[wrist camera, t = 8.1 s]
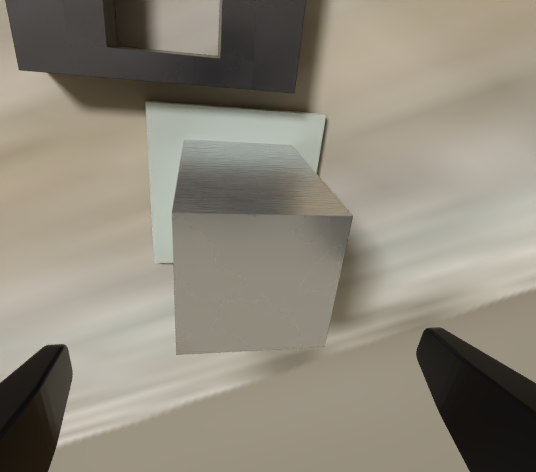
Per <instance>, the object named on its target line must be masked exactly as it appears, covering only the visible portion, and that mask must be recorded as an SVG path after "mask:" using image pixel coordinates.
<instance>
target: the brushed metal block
mask: <svg viewBox="0 0 536 472" xmlns="http://www.w3.org/2000/svg"><path fill="white" fill-rule="evenodd" d="M352 218H353V216H352V214H351V213H350V212H349V211H348V210H347V209H346V207H345V206H344V205H343V204H342V203H341V202H340V200H339V199H338V198H337V197H336V196H335V195H334V193H333V192H332V191H331V190H330V189H329V188H328V186H327V185H326V184H325V183H324V182H323V181H322V179H321V178H320V177H319V176H318V175H317V174H316V172H315V171H314V170H313V169H312V168H311V167H310V165H309V164H308V163H307V162H306V161H305V160H304V158H303V157H302V156H301V155H300V154H299V153H298V151H297V150H296V149H295V148H294V147H293V146H292V145H283V144H264V143H245V142H226V141H207V140H188V139H184V141H183V147H182V153H181V159H180V165H179V172H178V178H177V184H176V190H175V196H174V203H173V209H172V235H173V267H174V298H175V329H176V355H182V354H201V353H220V352H239V351H258V350H277V349H296V348H315V347H325V343H326V338H327V333H328V329H329V324H330V320H331V315H332V310H333V306H334V301H335V296H336V292H337V287H338V283H339V278H340V273H341V269H342V264H343V259H344V255H345V250H346V246H347V241H348V236H349V232H350V227H351V222H352Z"/></svg>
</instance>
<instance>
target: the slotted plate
mask: <svg viewBox="0 0 536 472" xmlns="http://www.w3.org/2000/svg"><path fill="white" fill-rule="evenodd" d="M5 1H6V7H7V12H8V17H9V22H10V27H11V32H12V37H13V42H14V47H15V52H16V57H17V62H18V68H19V70H23V71H35V72H47V73H59V74H71V75H83V76H94V77H106V78H118V79H130V80H142V81H154V82H166V83H178V84H190V85H202V86H214V87H225V88H237V89H249V90H261V91H273V92H285V93H295V85H296V77H297V69H298V61H299V52H300V44H301V36H302V27H303V19H304V11H305V3H306V0H220V9H219V43H218V56H212V55H202V54H191V53H181V52H171V51H161V50H151V49H141V48H131V47H121V46H118V43H117V31H116V19H115V7H114V0H5Z"/></svg>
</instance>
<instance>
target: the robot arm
mask: <svg viewBox="0 0 536 472" xmlns="http://www.w3.org/2000/svg"><path fill="white" fill-rule="evenodd" d="M416 355H417V360H418V362H419V365H420V367H421V369H422V372H423V374H424V377H425V379H426V382H427V384H428V387H429V389H430V391H431V394H432V397H433V399H434V402H435V404H436V406H437V408H438V410H439V413H440V415H441V417H442V419H443V421H444V423H445V425H446V427H447V429H448V430H449V432H450V434H451V436H452V438H453V440H454V442H455V444H456V446H457V448H458V450H459V452H460V454H461V455H462V458H463V459H464V461H465V463H466V465H467V467H468V469H469V471H470V472H536V383H534V382H533V381H531V380H529V379H528V378H526V377H524V376H523V375H521V374H519V373H517V372H516V371H514V370H512V369H511V368H509V367H507V366H506V365H504V364H502V363H500V362H499V361H497V360H495V359H494V358H492V357H490V356H489V355H487V354H485V353H483V352H482V351H480V350H478V349H477V348H475V347H473V346H472V345H470V344H468V343H467V342H465V341H463V340H461V339H460V338H458V337H456V336H455V335H453V334H451V333H450V332H448V331H446V330H444V329H443V328H437V327H436V328H426V329H425V330H424V332H423V334H422V337H421V340H420V342H419V345H418V348H417V352H416ZM71 382H72V366H71V361H70V356H69V351H68V348H67V346H66V345H64V344H57V345H46V346H44V347H43V348H42V349H40V350H39V351H38V352H37V353H36V354H34V355H33V356H32V357H31V358H30V359H28V360H27V361H26V362H25V363H24V364H22V365H21V366H20V367H19V368H18V369H16V370H15V371H14V372H13V373H12V374H10V375H9V376H8V377H7V378H6V379H4V380H3V381H2V382H1V383H0V472H48V470H49V467H50V464H51V461H52V458H53V455H54V452H55V449H56V446H57V442H58V438H59V433H60V429H61V425H62V421H63V416H64V412H65V408H66V403H67V399H68V395H69V390H70V386H71Z"/></svg>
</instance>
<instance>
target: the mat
mask: <svg viewBox="0 0 536 472" xmlns="http://www.w3.org/2000/svg"><path fill="white" fill-rule="evenodd" d="M145 105H146V124H147V142H148V160H149V178H150V197H151V215H152V233H153V252H154V263H173V235H172V209H173V203H174V196H175V190H176V184H177V178H178V172H179V165H180V159H181V153H182V147H183V141H184V139H188V140H207V141H226V142H245V143H264V144H283V145H292V146H293V147H294V148H295V149H296V150H297V151H298V153H299V154H300V155H301V156H302V157H303V158H304V160H305V161H306V162H307V163H308V164H309V165H310V167H311V168H312V169H313V170H314V171H315V172H316V174H317V168H318V161H319V155H320V149H321V143H322V137H323V131H324V124H325V118H326V115H325V114H321V113H307V112H294V111H281V110H267V109H254V108H240V107H227V106H214V105H200V104H187V103H173V102H160V101H146V102H145Z"/></svg>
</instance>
